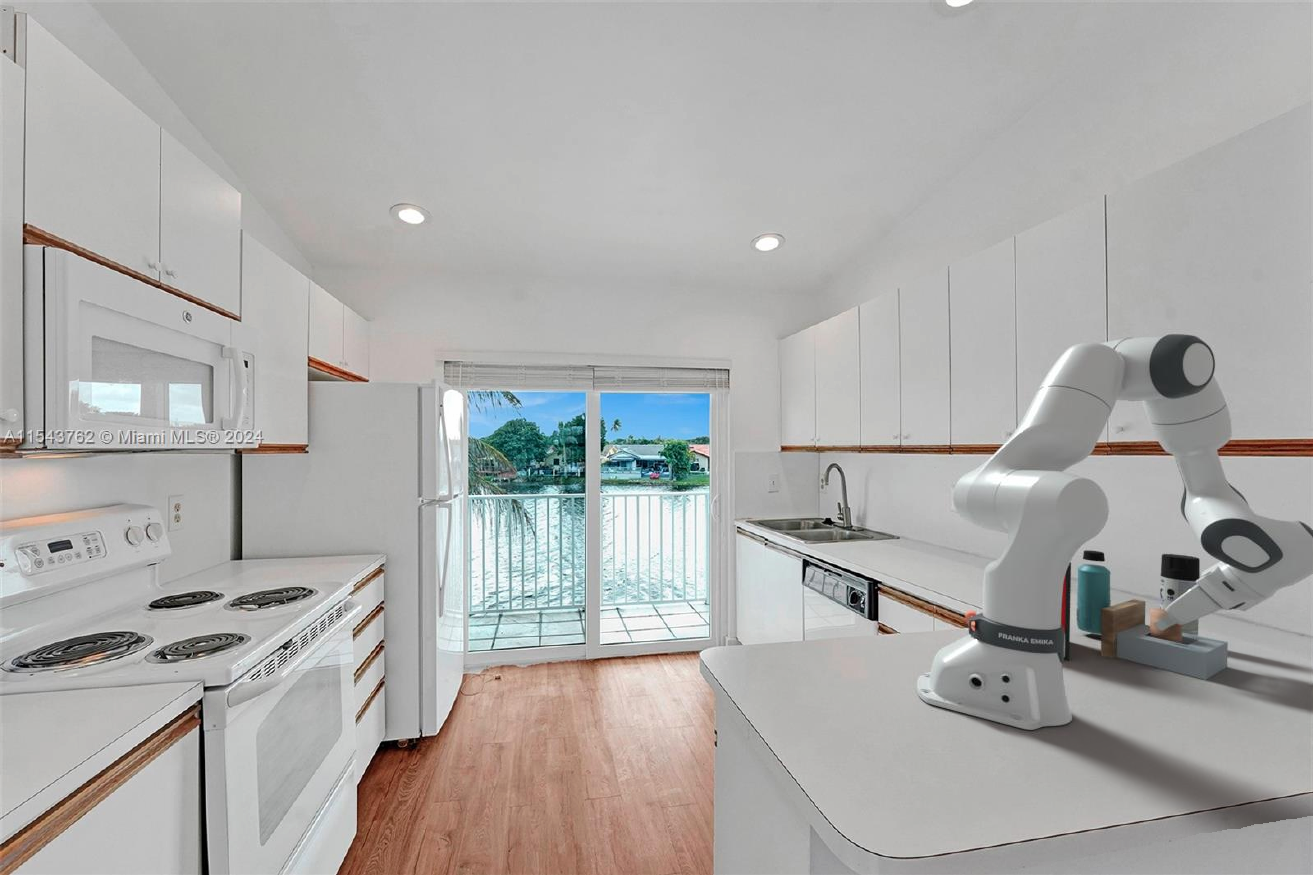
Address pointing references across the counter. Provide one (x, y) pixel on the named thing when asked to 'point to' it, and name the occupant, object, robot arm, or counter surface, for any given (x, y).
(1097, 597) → the beverage bottle
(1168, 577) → the spray can
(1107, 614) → the backstop board
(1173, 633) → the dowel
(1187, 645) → the square socket block
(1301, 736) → the counter surface
